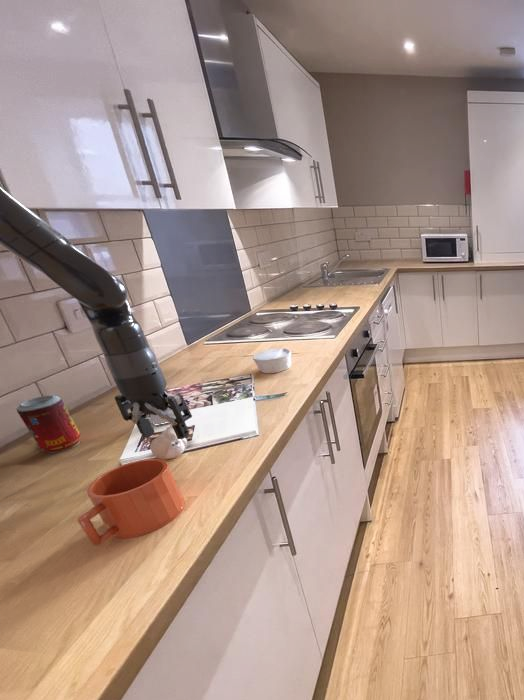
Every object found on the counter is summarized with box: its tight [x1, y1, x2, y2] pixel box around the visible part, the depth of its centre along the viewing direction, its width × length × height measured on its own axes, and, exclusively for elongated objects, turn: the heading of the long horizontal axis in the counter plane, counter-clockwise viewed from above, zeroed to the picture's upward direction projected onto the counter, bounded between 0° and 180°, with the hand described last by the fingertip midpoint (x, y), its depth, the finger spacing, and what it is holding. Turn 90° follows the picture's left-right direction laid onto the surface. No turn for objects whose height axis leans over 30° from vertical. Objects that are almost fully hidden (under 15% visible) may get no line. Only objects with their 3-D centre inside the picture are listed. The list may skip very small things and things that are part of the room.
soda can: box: [16, 394, 81, 454], centre depth 94 cm, size 7×7×12 cm
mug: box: [77, 458, 186, 547], centre depth 72 cm, size 14×11×9 cm
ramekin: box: [252, 347, 292, 374], centre depth 138 cm, size 11×11×5 cm
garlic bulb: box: [149, 423, 188, 461], centre depth 91 cm, size 7×6×8 cm
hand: (166, 436), depth 91 cm, fingers open, 8 cm apart
